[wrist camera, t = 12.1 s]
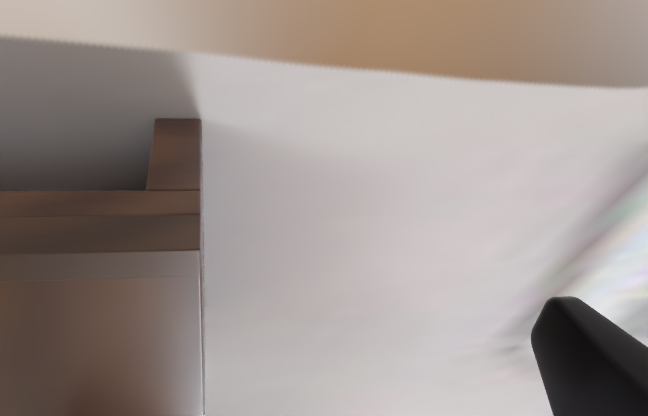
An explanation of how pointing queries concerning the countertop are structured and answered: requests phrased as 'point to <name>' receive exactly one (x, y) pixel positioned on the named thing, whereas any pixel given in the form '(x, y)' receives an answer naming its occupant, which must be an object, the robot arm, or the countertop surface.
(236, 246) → the countertop surface
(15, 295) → the shelf
